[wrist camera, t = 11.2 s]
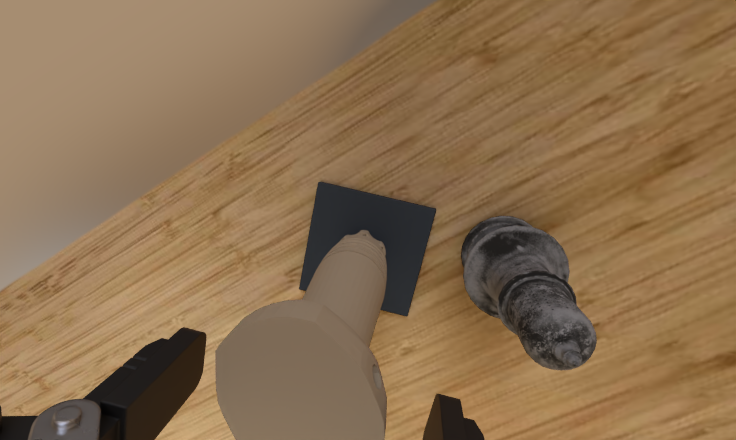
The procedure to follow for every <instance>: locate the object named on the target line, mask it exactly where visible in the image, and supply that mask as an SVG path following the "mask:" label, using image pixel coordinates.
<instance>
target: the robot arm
mask: <svg viewBox="0 0 736 440" xmlns="http://www.w3.org/2000/svg"><path fill="white" fill-rule="evenodd" d="M205 347H206V334H205V333H204V332H200V331H196V330H193V329H189V328H185V327H183V328H181V329H180V330H179V331H177V332H176V333H175V334H174V335H173V336H172V337H171V338H170V339H169V340H167V339H163V338H161V339H159V340H157V341H155V342H153V343H150V344H148V345H146V346H145V347H143V348H142V349H141V350H140V351H139V352H138V353H136V354H135V355H134V356H133V358H130V359H129V360H128V361H127V362H126V363H125V364H123V367H120V368H119V369H117V370H116V371H115V372H114V373H113V374H112V375H110V376H109V377H108V378H107V379H106V380H104V381H103V382H102V383H101V384H100V385H98V386H97V387H96V388H95V389H94V390H93V391H91V392H90V393H89V394H88V395H87V396H85V397H84V398H83V399H74V400H68V401H64V402H61V403H58V404H56V405H54V406H52V407H50V408H48V409H47V410H45V411H44V412H42V413H41V414H40V415H39V416H2V414H1V406H0V440H155V438H156V437H157V436H158V435H159V433H160V432H161V431H162V430H163V428H164V427H165V426H166V425H167V423H168V422H169V421H170V420H171V419H172V417H173V416H174V415H175V414H176V412H177V411H178V410H179V409H180V407H181V406H182V405H183V404H184V402H185V401H186V400H187V399H188V397H189V396H190V395H191V394H192V392H193V391H194V390H195V389H196V387H197V385H198V383H199V381H200V379H201V376H202V373H203V366H204V356H205ZM423 440H484V436H483V434H482V432H481V431H480V429H479V428H478V426H477V424H476V423H475V421H474V420H471V419H467V418H464V417H463V412H462V406H461V401H460V399H457V398H453V397H449V396H445V395H441V394H436V396H435V399H434V402H433V405H432V408H431V411H430V415H429V418H428V421H427V424H426V427H425V431H424V435H423Z"/></svg>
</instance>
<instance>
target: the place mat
mask: <svg viewBox="0 0 736 440" xmlns="http://www.w3.org/2000/svg"><path fill="white" fill-rule="evenodd" d="M435 213H436V209H435V208H431V207H426V206H422V205H418V204H414V203H409V202H405V201H401V200H396V199H392V198H388V197H384V196H379V195H375V194H371V193H367V192H362V191H358V190H354V189H350V188H345V187H341V186H337V185H332V184H328V183H324V182H318V187H317V192H316V198H315V204H314V209H313V215H312V220H311V226H310V231H309V237H308V243H307V248H306V254H305V259H304V265H303V271H302V276H301V282H300V287H299V289H300V290H304V291H306V290H307V288H308V286H309V284H310V282H311V280H312V278H313V276H314V273H315V271H316V270H317V268H318V266H319V264H320V263H321V262H322V260H323V258H324V257H325V256H326V255H327V253H328V252H329V251H330V250H331V249H332V248H333V247H334V246H335V245H336V244H337V243H339V242H340V240H341V239H342V238H343V237H344V236H346V235H354V234H357V233H359V232H360V231H361V230H367V231H369V233H370V235H371V236H372V237H373V238H375V239H376V240H378V241H382V242H383V244H384V246H385V249H386V255H385V258H386V264H387V281H386V289H385V295H384V299H383V303H382V306H381V309H380V310H383V311H387V312H391V313H395V314H399V315H403V316H408V312H409V308H410V305H411V301H412V297H413V294H414V290H415V286H416V282H417V279H418V275H419V271H420V268H421V264H422V260H423V257H424V253H425V249H426V246H427V242H428V238H429V235H430V231H431V227H432V224H433V220H434V216H435Z"/></svg>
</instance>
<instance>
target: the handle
mask: <svg viewBox="0 0 736 440" xmlns="http://www.w3.org/2000/svg"><path fill="white" fill-rule="evenodd" d="M385 255H386V249H385V246H384V244H383V242H382V241H378V240H376V239H375V238H373V237H372V236H371V235H370V233H369V231H367V230H361V231H360V232H359V233H357V234H354V235H346V236H344V237H343V238H342V239H341V240H340V242H339V243H337V244H336V245H335V246H334V247H333V248H332V249H331V250H330V251H329V252H328V253H327V255H326V256H325V257H324V258H323V260H322V262H321V263H320V264H319V266H318V268H317V270H316V271H315V273H314V276H313V278H312V280H311V282H310V284H309V286H308V288H307V290H306V292H305V294H304V297H303V299H302V300H287V301H282V302H277V303H273V304H270V305H267V306H265V307H262V308H260V309H258V310H256V311H254V312H253V313H251V314H249V315H248V316H246V317H245V318H244V319H243V320H242V321H241V322H240V323H239V324H238V325H237V326H236V327H235V328H234V329H233V330H232V331H231V332H230V333H229V334H228V336H227V337H226V338H225V339H224V340H223V341H222V343H221V344H220V345H219V347H218V348H217V350H216V391H217V398H218V403H219V406H220V408H221V411H222V414H223V416H224V418H225V420H226V422H227V424H228V426H229V428H230V430H231V432H232V434H233V436H234V437H235V439H236V440H384V439H385V428H386V409H387V397H386V392H385V388H384V384H383V380H382V376H381V372H380V369H379V365H378V362H377V360H376V358H375V357H374V355H373V353H372V351H371V350H370V348H369V346H370V342H371V339H372V335H373V332H374V329H375V325H376V322H377V319H378V316H379V312H380V309H381V306H382V303H383V299H384V295H385V289H386V281H387V264H386V258H385Z"/></svg>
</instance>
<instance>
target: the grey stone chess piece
mask: <svg viewBox="0 0 736 440" xmlns="http://www.w3.org/2000/svg"><path fill="white" fill-rule="evenodd" d="M461 258H462V263H463V267H464V274H463V278H464V283H465V288H466V291H467V292H468V294H469V296H470V298H471V300H472V301H473V302H474V303H475V304H476V305H477V307H478V308H479V309H481V310H482V311H484V312H486V313H487V314H489V315H490V316H493V317H496V318H499V319H501V320H502V322H503V324H504V325H505V326H506V327H507V328H508V329H509V330H510V331H512V332H513V333H515V334H517V335H518V337H519V339H520V341H521V343H522V345H523V347H524V349H525V351H526V353H527V354H528V355H529V356H530V357H531V358H532V359H533V360H534V361H535V362H536V363H538V364H540V365H541V366H543V367H546V368H549V369H554V370H570V369H573V368H576V367H579V366H581V365H582V364H584V363H585V362H586V361H587V360H588V359H589V358H590V357H591V355H592V353H593V351H594V350H595V347H596V342H597V340H596V332H595V330H594V328H593V326H592V323H591V321H590V320H589V319H588V318H587V317H586V316H585V314H584V313H583V312H582V311H581V310H580V309H579V308H578V307H577V304H576V296H575V294H574V292H573V289H572V287H571V286H570V285H569V284H568V278H569V264H568V259H567V257H566V254H565V252H564V250H563V248H562V247H561V246H560V244H559V243H558V242H557V241H556V240H555V239H554V238H553V237H552V236H550V235H549V234H547V233H545V232H544V231H542V230H539V229H536V228H533V227H532V226H531V225H529V224H528V223H526V222H525V221H523V220H521V219H518V218H515V217H512V216H498V217H492V218H489V219H487V220H485V221H482V222H480V223H479V224H478V225H477V226H475V227H474V228H473V229H472V230H471V231H470V232H469V234H468V235H467V236H466V238H465V241H464V243H463V246H462V253H461Z"/></svg>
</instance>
